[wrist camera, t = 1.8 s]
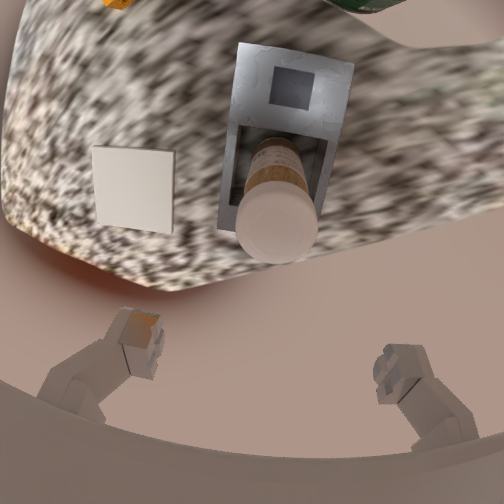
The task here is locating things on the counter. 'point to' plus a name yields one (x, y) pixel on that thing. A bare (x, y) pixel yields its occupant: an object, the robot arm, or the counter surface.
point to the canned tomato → (364, 5)
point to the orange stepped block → (117, 3)
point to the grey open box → (284, 112)
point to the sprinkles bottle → (276, 205)
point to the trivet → (134, 187)
